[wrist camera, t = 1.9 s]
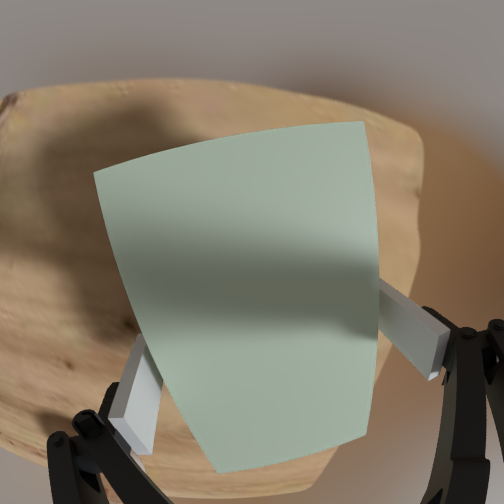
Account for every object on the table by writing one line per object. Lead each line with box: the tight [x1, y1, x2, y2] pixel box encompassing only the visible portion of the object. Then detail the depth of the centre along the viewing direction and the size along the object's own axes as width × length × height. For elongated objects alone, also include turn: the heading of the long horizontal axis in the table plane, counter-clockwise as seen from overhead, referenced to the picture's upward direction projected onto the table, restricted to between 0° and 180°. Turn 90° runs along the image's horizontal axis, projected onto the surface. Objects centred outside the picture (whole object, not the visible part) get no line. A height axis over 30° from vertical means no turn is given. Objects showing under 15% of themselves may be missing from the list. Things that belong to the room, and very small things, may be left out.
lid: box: [93, 121, 379, 474], centre depth 14 cm, size 20×11×4 cm, turn 10°
